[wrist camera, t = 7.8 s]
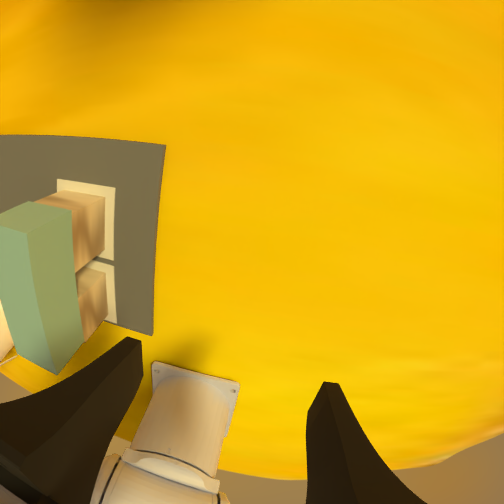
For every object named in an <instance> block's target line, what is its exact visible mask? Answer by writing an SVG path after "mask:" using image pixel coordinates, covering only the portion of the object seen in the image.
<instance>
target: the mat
mask: <svg viewBox="0 0 504 504" xmlns="http://www.w3.org/2000/svg"><path fill="white" fill-rule="evenodd" d="M165 150H166V145H161V144H153V143H145V142H136V141H126V140H116V139H104V138H91V137H76V136H54V135H0V214H1V213H3V212H5V211H7V210H9V209H12V208H14V207H16V206H18V205H21V204H23V203H25V202H28V201H31V202H35V201H37V200H40V199H42V198H44V197H47V196H49V195H52V194H54V193H57V192H59V191H62V190H68V191H74V192H80V193H86V194H91V195H97V196H102V197H105V250H103V251H102V252H101V253H99V254H98V255H97V256H96V257H94V258H93V259H92V260H91V261H89V262H88V263H87V264H86V265H84V267H87V268H91V269H94V270H98V271H101V272H104V273H106V289H107V303H108V315H107V317H106V318H105V319H104V320H103V321H106V322H109V323H112V324H115V325H118V326H121V327H124V328H127V329H130V330H133V331H136V332H140V333H143V334H146V335H150V336H152V335H153V307H154V273H155V253H156V237H157V224H158V212H159V201H160V191H161V182H162V173H163V165H164V157H165Z"/></svg>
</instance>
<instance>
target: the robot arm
mask: <svg viewBox="0 0 504 504" xmlns="http://www.w3.org/2000/svg"><path fill="white" fill-rule="evenodd" d="M142 377H143V362H142V344H141V341H140V340H137V339H134V338H131V337H126V338H124V339H123V340H122V341H120V342H119V343H118V344H116V345H115V346H114V347H112V348H111V349H110V350H108V351H107V352H106V353H104V354H103V355H102V356H100V357H99V358H97V359H96V360H95V361H93V362H92V363H90V364H89V365H87V366H86V367H84V368H83V369H81V370H80V371H78V372H76V373H75V374H73V375H72V376H70V377H68V378H66V379H65V380H63V381H61V382H59V383H57V384H55V385H53V386H51V387H49V388H47V389H44V390H42V391H40V392H37V393H35V394H32V395H30V396H27V397H23V398H20V399H17V400H14V401H10V402H6V403H1V404H0V504H230V502H229V500H228V499H227V496H226V495H225V493H223V492H220V491H218V489H219V484H220V481H219V480H216V479H215V475H216V470H217V466H218V461H219V456H220V452H221V447H222V443H223V438H224V437H226V436H227V433H228V430H229V426H230V422H231V419H232V415H233V411H234V407H235V404H236V400H237V396H238V392H239V389H240V384H239V383H238V382H236V381H231V380H227V379H222V378H218V377H214V376H210V375H206V374H202V373H198V372H194V371H190V370H186V369H182V368H179V367H175V366H172V365H168V364H165V363H161V362H158V361H154V362H153V364H152V384H153V397H152V399H151V401H150V403H149V405H148V408H147V410H146V412H145V414H144V416H143V419H142V421H141V423H140V425H139V428H138V430H137V432H136V434H135V437H134V439H133V441H132V443H131V446H130V448H128V447H127V448H126V449H125V451H124V453H123V456H122V458H121V456H120V455H117V454H112V455H111V456H107V457H105V454H106V451H107V449H108V446H109V444H110V441H111V439H112V437H113V435H114V433H115V432H116V430H117V428H118V426H119V424H120V422H121V421H122V419H123V417H124V415H125V413H126V412H127V410H128V408H129V406H130V404H131V403H132V401H133V399H134V397H135V395H136V393H137V390H138V388H139V385H140V383H141V380H142ZM232 389H234V390H232ZM306 452H307V478H308V482H307V483H308V484H307V485H308V486H307V497H306V504H427V503H425V502H424V501H423V500H421V499H420V498H419V497H418V496H416V495H415V494H414V493H413V492H412V491H411V490H409V489H408V488H407V487H406V486H405V485H404V484H403V483H402V482H401V481H400V480H399V478H398V477H397V476H396V475H395V474H394V473H393V472H392V471H391V470H390V469H389V467H388V466H387V465H386V464H385V462H384V461H383V460H382V459H381V457H380V456H379V455H378V453H377V452H376V450H375V449H374V447H373V446H372V444H371V443H370V441H369V440H368V438H367V436H366V435H365V433H364V431H363V430H362V428H361V426H360V424H359V422H358V421H357V419H356V417H355V415H354V413H353V411H352V409H351V407H350V406H349V404H348V402H347V400H346V397H345V395H344V393H343V391H342V389H341V387H340V385H339V384H338V383H331V382H323V384H322V386H321V388H320V390H319V392H318V393H317V395H316V397H315V399H314V401H313V403H312V405H311V407H310V408H309V410H308V413H307V424H306ZM104 457H105V458H104Z"/></svg>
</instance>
